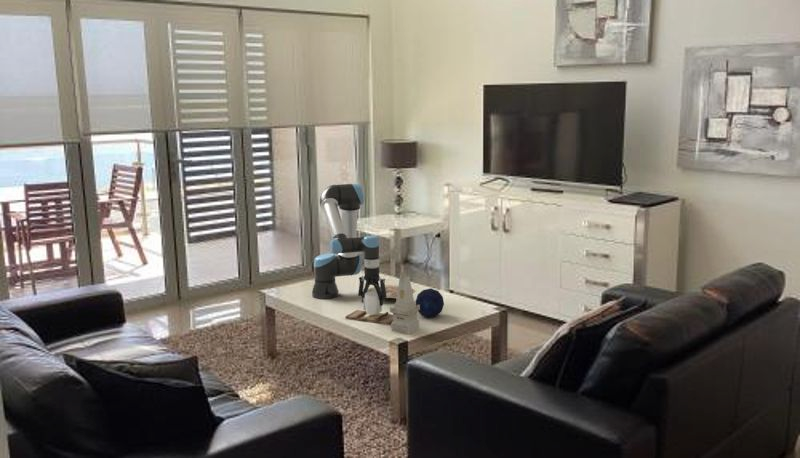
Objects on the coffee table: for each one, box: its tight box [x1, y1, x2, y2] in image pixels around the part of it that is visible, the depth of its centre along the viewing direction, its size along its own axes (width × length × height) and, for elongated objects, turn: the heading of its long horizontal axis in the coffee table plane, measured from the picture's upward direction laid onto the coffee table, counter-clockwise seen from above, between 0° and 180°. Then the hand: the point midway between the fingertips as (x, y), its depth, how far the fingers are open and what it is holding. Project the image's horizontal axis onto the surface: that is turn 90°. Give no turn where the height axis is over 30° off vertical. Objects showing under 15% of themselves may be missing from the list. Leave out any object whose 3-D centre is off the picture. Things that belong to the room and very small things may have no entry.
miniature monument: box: [389, 269, 420, 335], centre depth 333 cm, size 10×10×30 cm
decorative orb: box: [415, 287, 445, 319], centre depth 355 cm, size 14×15×15 cm
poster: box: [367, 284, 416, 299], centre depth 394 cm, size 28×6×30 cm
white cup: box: [365, 292, 380, 315], centre depth 353 cm, size 8×8×10 cm
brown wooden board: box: [345, 309, 393, 326], centre depth 354 cm, size 25×12×2 cm, turn 64°
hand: (372, 310), depth 353 cm, fingers closed on white cup, 8 cm apart
